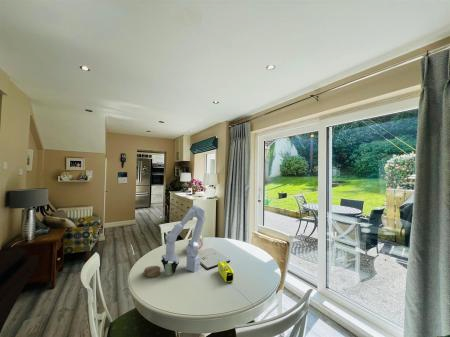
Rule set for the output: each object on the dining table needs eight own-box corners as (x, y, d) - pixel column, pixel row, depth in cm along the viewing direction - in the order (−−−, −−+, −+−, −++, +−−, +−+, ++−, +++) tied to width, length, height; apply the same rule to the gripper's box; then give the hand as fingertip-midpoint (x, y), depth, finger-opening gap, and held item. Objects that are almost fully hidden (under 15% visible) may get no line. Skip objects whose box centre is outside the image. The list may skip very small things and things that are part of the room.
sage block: (174, 273, 136) (174, 264, 136) (169, 275, 132) (169, 266, 132) (169, 271, 139) (170, 262, 139) (164, 273, 135) (165, 264, 135)
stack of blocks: (196, 245, 187) (196, 231, 187) (202, 245, 186) (203, 232, 186) (188, 254, 166) (188, 239, 166) (195, 255, 165) (195, 240, 165)
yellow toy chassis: (217, 271, 140) (217, 259, 140) (224, 270, 142) (225, 258, 142) (225, 284, 125) (225, 270, 125) (233, 282, 127) (234, 269, 127)
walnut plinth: (163, 272, 136) (163, 268, 136) (150, 279, 127) (151, 274, 127) (153, 268, 141) (153, 264, 141) (140, 274, 133) (141, 270, 133)
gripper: (158, 250, 136) (157, 270, 136) (173, 255, 128) (172, 277, 128) (166, 247, 142) (165, 266, 142) (181, 252, 134) (180, 272, 134)
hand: (169, 271), depth 136 cm, fingers open, 7 cm apart
